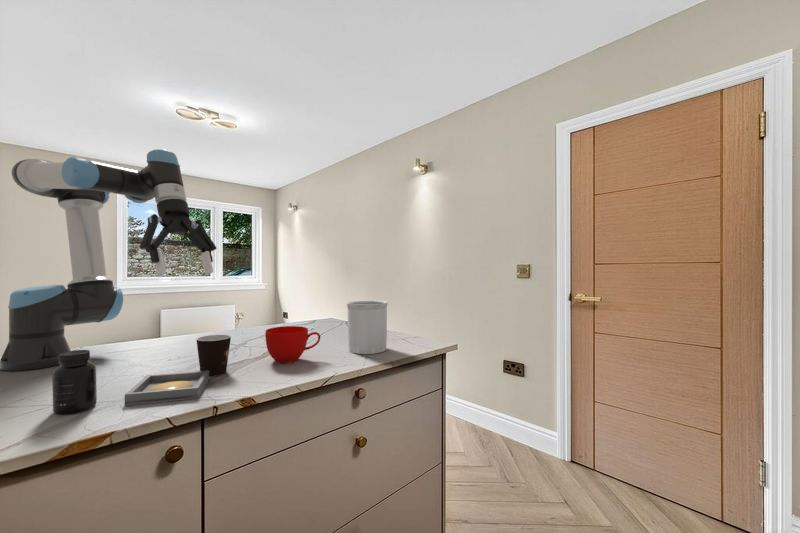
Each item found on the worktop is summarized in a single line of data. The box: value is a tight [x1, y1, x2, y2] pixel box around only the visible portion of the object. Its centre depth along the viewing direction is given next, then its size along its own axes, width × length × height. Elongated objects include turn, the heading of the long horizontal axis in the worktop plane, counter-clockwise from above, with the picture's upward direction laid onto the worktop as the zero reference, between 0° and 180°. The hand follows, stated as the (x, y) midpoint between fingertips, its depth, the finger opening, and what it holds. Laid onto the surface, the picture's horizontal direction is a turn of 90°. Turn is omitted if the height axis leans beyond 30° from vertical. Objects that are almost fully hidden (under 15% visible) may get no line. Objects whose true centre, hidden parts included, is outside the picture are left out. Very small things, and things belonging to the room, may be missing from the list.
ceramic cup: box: [265, 325, 321, 364], centre depth 114 cm, size 13×17×10 cm
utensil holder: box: [346, 299, 389, 355], centre depth 129 cm, size 15×15×18 cm
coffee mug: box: [196, 334, 232, 378], centre depth 101 cm, size 12×9×10 cm
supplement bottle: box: [51, 349, 98, 416], centre depth 74 cm, size 7×7×12 cm
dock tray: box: [124, 370, 210, 407], centre depth 85 cm, size 14×14×2 cm
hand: (187, 274), depth 98 cm, fingers open, 13 cm apart
